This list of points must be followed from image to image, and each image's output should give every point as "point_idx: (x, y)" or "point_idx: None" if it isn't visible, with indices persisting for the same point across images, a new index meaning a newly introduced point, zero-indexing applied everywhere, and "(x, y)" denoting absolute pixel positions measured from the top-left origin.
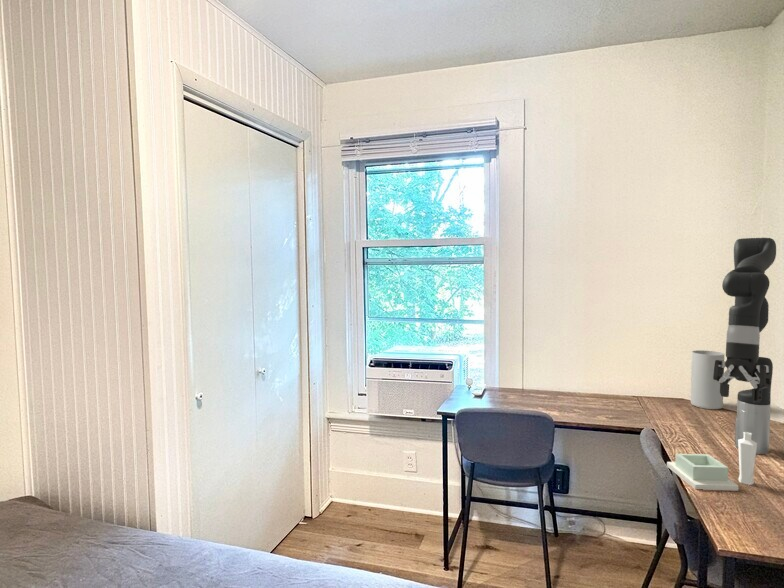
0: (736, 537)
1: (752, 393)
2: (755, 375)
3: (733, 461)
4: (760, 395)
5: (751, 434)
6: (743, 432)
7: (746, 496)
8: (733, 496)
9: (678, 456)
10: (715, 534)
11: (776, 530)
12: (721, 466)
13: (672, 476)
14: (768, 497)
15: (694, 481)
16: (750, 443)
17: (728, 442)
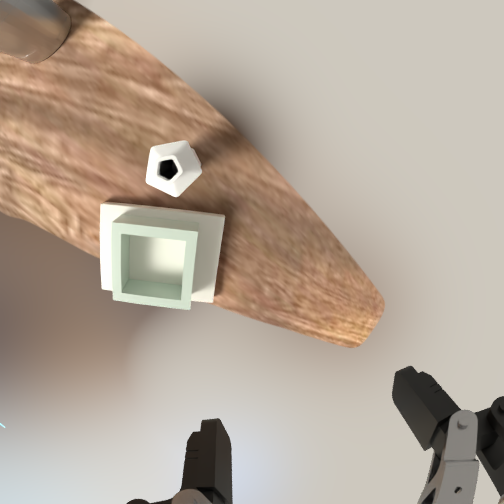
0: (350, 324)
1: (414, 430)
2: (462, 502)
3: (82, 111)
4: (440, 397)
5: (176, 159)
6: (157, 180)
7: (250, 217)
8: (246, 244)
9: (126, 301)
10: (338, 343)
11: (354, 261)
12: (190, 244)
13: None
14: (260, 174)
15: (198, 295)
16: (194, 174)
17: (11, 66)
